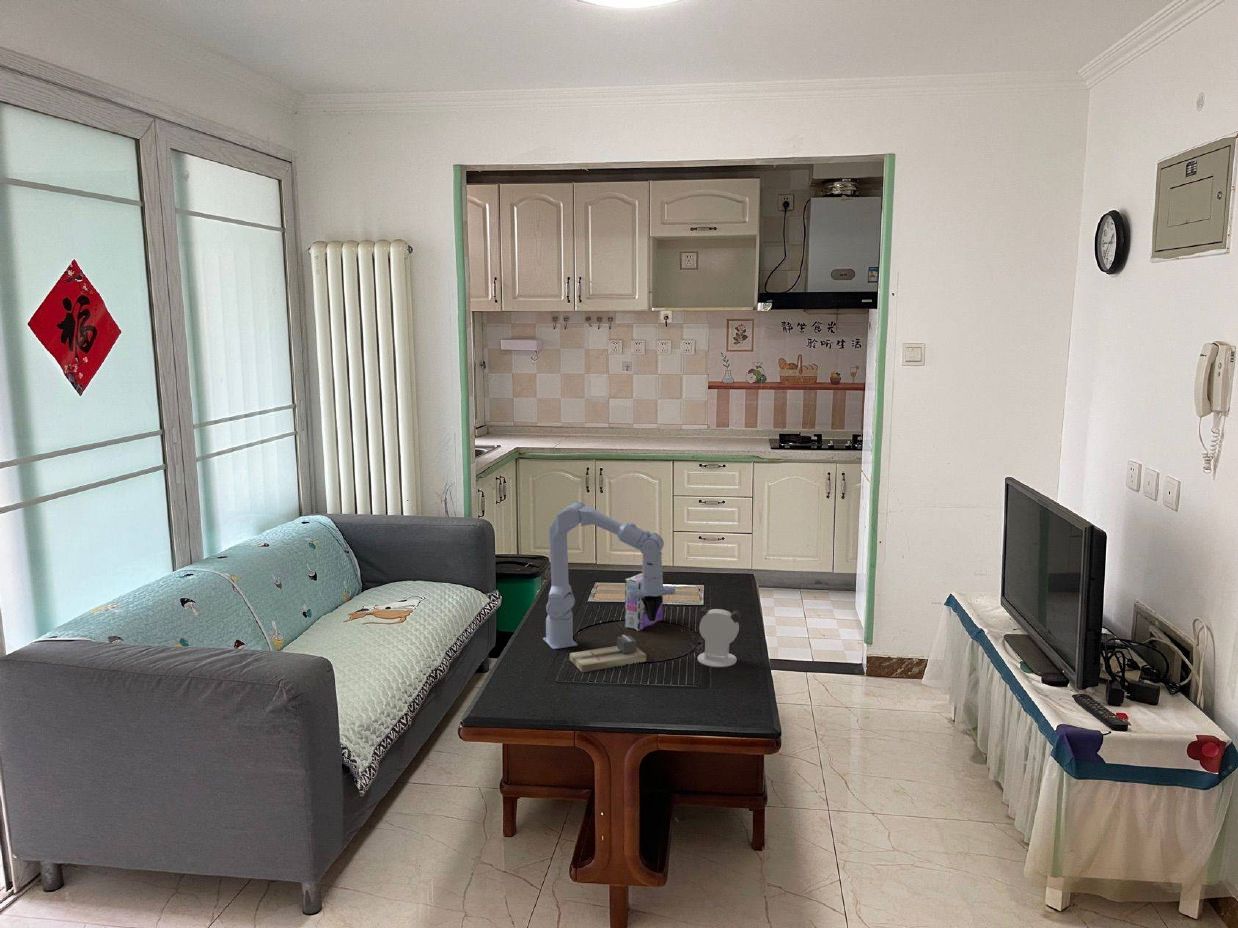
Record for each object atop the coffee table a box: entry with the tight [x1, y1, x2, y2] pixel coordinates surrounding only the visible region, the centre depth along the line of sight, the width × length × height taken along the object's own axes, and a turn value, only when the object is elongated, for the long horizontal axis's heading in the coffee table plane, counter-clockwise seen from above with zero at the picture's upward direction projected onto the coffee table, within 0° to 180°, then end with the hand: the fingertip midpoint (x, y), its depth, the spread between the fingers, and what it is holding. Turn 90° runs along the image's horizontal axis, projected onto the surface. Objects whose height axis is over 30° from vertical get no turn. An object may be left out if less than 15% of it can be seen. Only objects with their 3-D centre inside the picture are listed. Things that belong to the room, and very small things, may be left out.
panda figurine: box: [697, 606, 742, 668], centre depth 256 cm, size 12×11×15 cm
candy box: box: [624, 572, 664, 632], centre depth 286 cm, size 14×6×16 cm, turn 143°
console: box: [569, 645, 647, 673], centre depth 256 cm, size 10×20×2 cm, turn 114°
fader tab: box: [616, 634, 637, 653], centre depth 258 cm, size 5×4×4 cm
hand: (651, 619), depth 260 cm, fingers closed
